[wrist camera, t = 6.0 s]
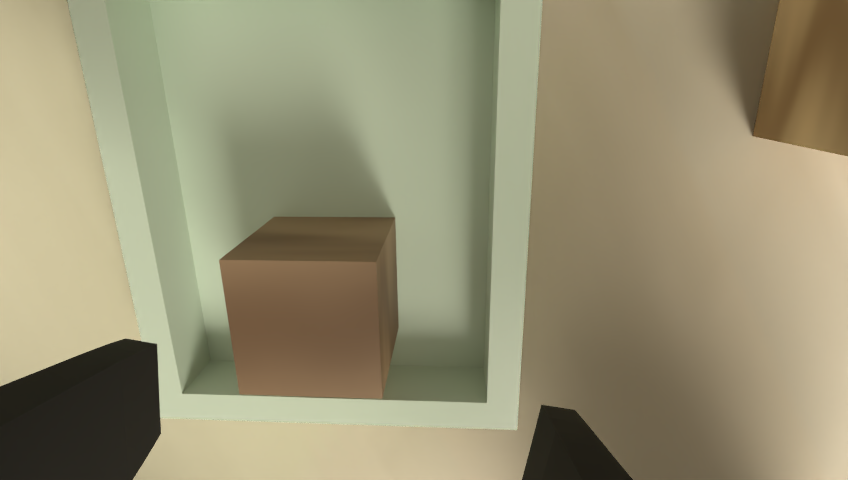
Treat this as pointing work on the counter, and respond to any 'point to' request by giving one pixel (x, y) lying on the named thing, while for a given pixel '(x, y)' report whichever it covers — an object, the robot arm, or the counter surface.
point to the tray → (323, 180)
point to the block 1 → (313, 306)
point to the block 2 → (807, 77)
